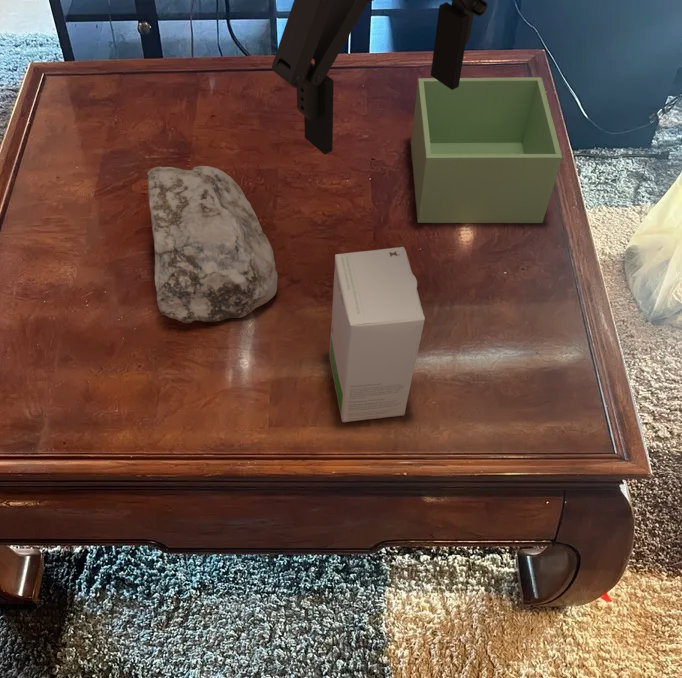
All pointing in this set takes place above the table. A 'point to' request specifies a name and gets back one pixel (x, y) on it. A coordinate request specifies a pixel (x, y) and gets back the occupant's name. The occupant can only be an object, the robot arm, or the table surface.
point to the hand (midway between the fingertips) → (383, 112)
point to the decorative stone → (207, 246)
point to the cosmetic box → (374, 333)
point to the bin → (483, 151)
